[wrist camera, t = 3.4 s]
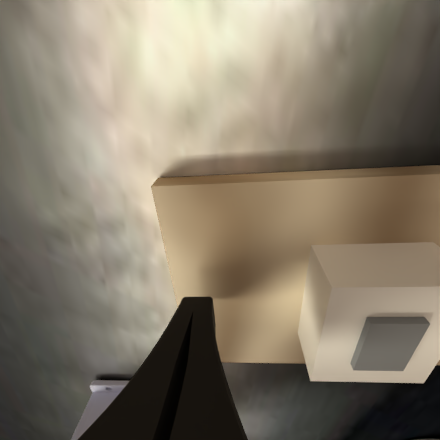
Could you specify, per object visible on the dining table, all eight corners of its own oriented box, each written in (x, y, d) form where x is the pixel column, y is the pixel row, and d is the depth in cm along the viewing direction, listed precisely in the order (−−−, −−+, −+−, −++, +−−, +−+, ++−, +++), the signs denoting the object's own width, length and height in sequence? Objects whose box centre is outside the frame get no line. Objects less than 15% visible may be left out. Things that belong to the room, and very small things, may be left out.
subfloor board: (191, 347, 16) (189, 361, 15) (158, 177, 10) (151, 186, 9) (621, 350, 14) (647, 367, 13) (887, 144, 8) (963, 151, 7)
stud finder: (297, 332, 13) (312, 388, 11) (311, 244, 10) (335, 294, 8) (391, 332, 13) (428, 390, 10) (433, 242, 10) (498, 292, 7)
